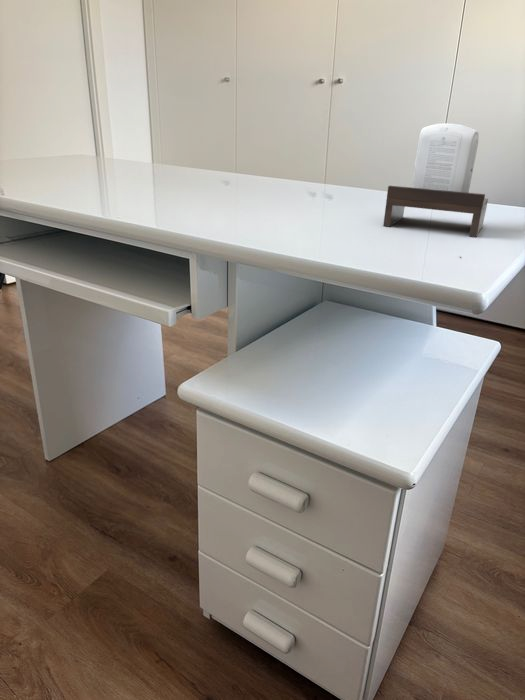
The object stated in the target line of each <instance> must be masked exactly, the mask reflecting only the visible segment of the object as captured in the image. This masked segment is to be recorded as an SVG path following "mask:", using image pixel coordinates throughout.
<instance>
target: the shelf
mask: <svg viewBox="0 0 525 700" xmlns="http://www.w3.org/2000/svg"><path fill="white" fill-rule="evenodd" d="M386 192H387V193H386V201H385V209H384V217H383V223H382V226H383V227H387V228H390V227H392V226H393V225H394V224H395V223H398V221H400V220H402V219H403V218H404V213H405V208H414V209H422V210H423V209H425V210H432V211H433V210H434V211H445V212H452V213H464V214H472V218H471V224H470V229H469V233H468V237H472V238H477V237H478V235H479V234H480V231H481V230H482V228H483V226H484V221H485V216H486V212H487V208H488V207H487V206H488V201H489V198H488V197H487V198H486V193H478V192H469V193H467V192H456V191H445V190H434V189H423V188H412V187H411V186H400V185H388V186H387V191H386Z"/></svg>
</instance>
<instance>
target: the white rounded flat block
mask: <svg viewBox="0 0 525 700" xmlns="http://www.w3.org/2000/svg"><path fill="white" fill-rule="evenodd" d="M478 147H479V131H478V130H477V129H475V128H473V127H470V126H467V125H464V124H459V123H451V122H450V123H447V122H445V123H442V122H441V123H434V124H431V125H427V126H424V127H422V128H421V130H420V133H419V136H418V141H417V148H416V154H415V159H414V160H415V161H414V166H413V167H414V168H413V172H412V173H413V175H412V180H411V186H410V187H412V188H423V189H434V190H445V191H456V192H467V193H470V187H471V183H472V178H473V173H474V168H475V167H474V166H475V161H476V157H477V153H478V152H477V151H478Z"/></svg>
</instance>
